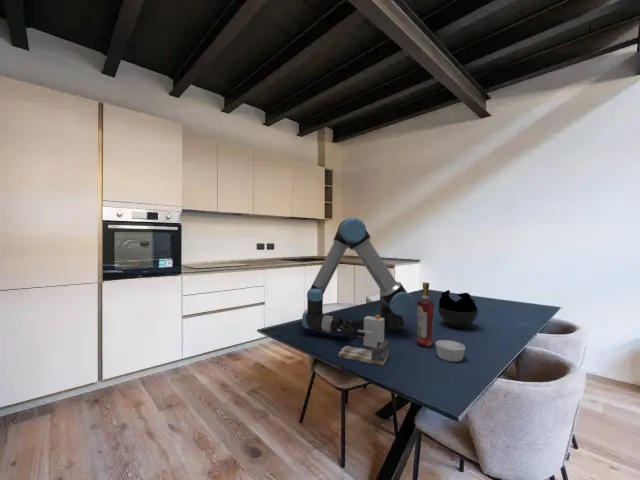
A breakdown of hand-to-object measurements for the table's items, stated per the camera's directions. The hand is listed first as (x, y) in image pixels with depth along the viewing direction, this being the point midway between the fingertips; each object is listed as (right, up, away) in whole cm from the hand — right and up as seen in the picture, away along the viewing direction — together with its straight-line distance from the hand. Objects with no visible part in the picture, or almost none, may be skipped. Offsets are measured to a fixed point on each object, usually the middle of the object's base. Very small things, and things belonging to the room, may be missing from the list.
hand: (377, 331), depth 134 cm
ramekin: (+27, -7, -12) cm, 31 cm away
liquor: (+22, -7, +2) cm, 23 cm away
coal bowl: (+50, -7, +31) cm, 59 cm away
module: (-1, -7, +1) cm, 7 cm away
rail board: (-8, -7, -13) cm, 16 cm away
